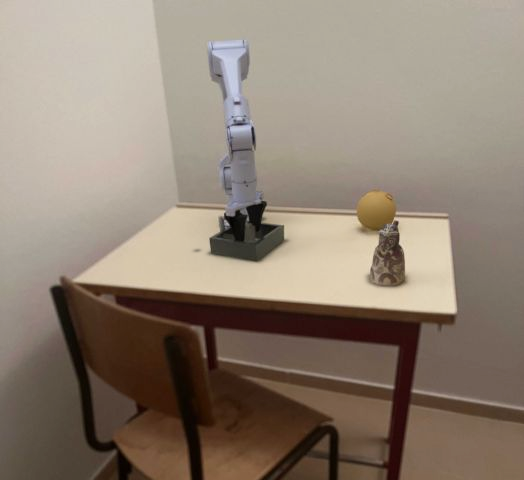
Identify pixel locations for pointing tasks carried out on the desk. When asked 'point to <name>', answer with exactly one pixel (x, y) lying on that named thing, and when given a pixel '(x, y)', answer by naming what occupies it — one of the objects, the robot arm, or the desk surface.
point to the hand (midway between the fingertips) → (247, 236)
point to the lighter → (249, 233)
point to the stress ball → (376, 210)
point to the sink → (230, 247)
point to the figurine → (388, 257)
